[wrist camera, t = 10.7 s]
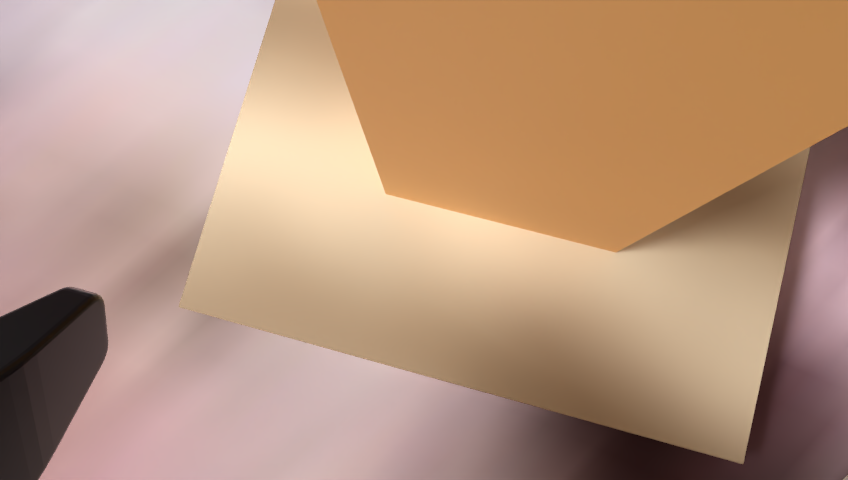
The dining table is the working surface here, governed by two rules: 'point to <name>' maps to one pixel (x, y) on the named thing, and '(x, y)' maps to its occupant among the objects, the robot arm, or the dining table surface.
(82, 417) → the dining table surface
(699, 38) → the block
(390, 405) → the dining table surface
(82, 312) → the robot arm
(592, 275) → the wooden board
